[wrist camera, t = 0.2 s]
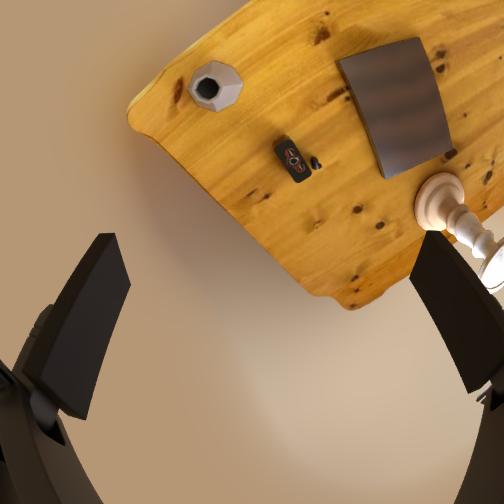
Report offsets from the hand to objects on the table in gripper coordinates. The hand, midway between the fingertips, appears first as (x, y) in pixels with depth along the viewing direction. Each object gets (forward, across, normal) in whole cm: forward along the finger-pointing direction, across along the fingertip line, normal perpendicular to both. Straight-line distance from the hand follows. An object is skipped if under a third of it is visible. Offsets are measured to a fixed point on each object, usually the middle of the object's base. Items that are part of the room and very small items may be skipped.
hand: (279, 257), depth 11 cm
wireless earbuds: (+31, +6, -5) cm, 32 cm away
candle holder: (+31, +35, -11) cm, 48 cm away
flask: (+31, -5, +6) cm, 32 cm away
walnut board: (+31, +23, +5) cm, 39 cm away
